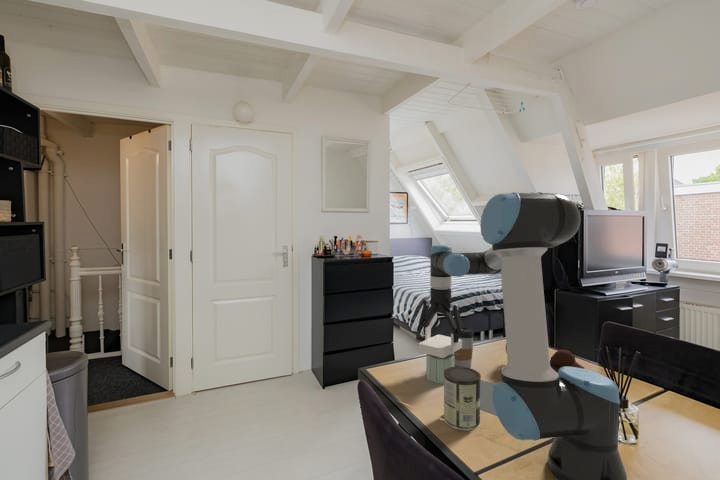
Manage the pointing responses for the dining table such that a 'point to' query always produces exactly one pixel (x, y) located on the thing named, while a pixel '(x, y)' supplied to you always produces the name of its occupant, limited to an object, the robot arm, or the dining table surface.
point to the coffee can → (462, 398)
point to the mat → (486, 397)
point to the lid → (438, 346)
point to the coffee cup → (465, 349)
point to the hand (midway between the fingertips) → (440, 347)
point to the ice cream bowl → (563, 360)
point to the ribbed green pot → (438, 367)
